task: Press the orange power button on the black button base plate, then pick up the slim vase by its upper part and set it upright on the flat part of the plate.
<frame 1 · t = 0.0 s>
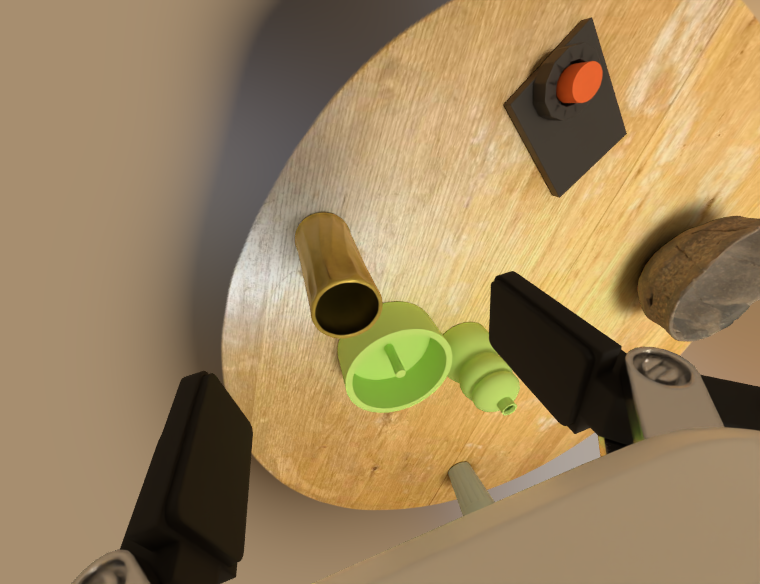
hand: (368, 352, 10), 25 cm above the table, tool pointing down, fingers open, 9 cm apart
cup: (458, 467, 71), on the table
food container: (418, 343, 46), on the table
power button: (578, 83, 29), point 4 cm above the table, slide at 0.1 cm
vase: (323, 238, 33), on the table
bowl: (663, 259, 53), on the table
button base plate: (565, 120, 34), on the table
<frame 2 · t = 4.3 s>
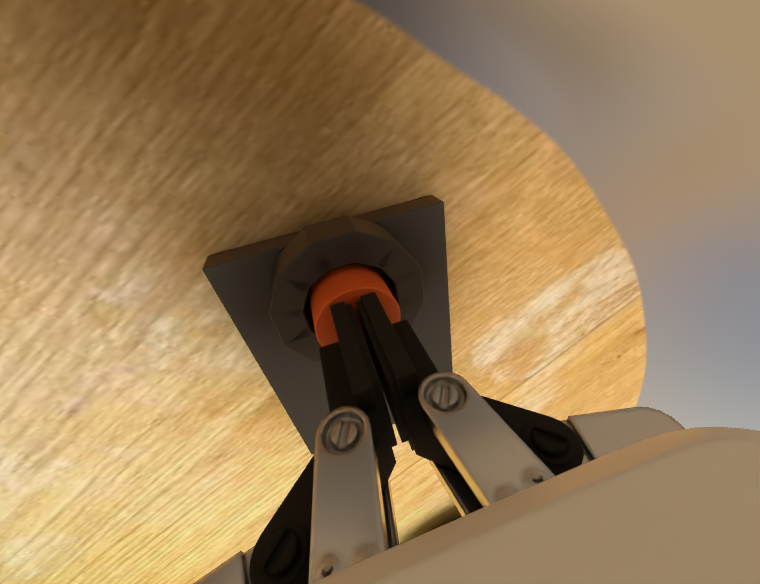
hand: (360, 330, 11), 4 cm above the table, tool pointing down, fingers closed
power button: (353, 309, 12), point 3 cm above the table, slide at -0.3 cm, touching gripper
button base plate: (359, 339, 17), on the table
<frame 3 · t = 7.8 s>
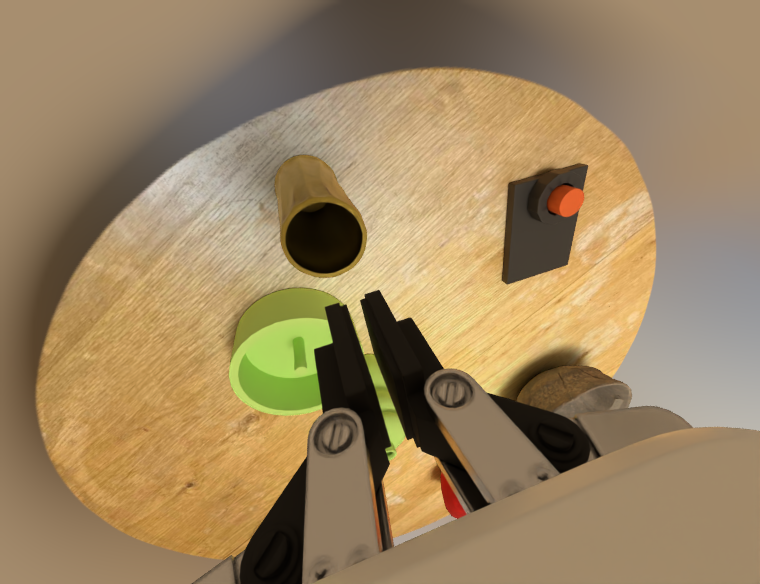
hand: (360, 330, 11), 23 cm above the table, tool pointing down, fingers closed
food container: (326, 354, 42), on the table
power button: (564, 200, 35), point 4 cm above the table, slide at 0.1 cm
vase: (306, 187, 30), on the table
bowl: (541, 382, 62), on the table
apple: (450, 464, 69), on the table
button base plate: (538, 226, 41), on the table
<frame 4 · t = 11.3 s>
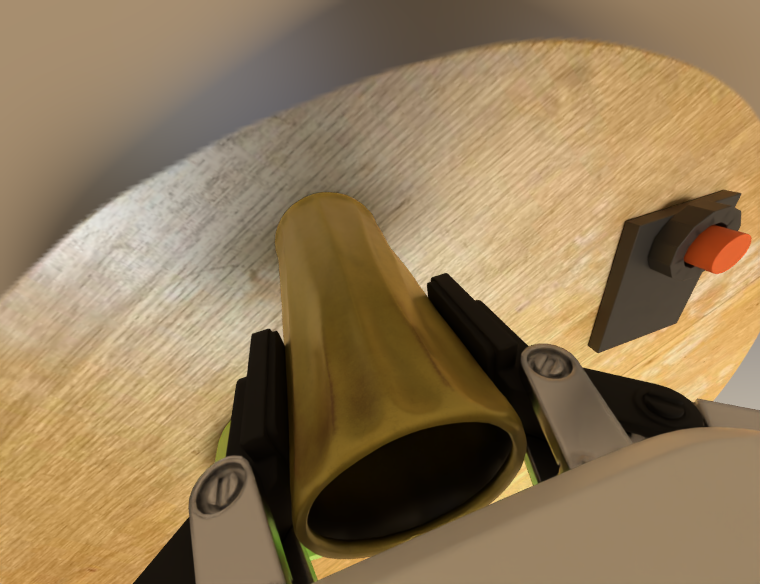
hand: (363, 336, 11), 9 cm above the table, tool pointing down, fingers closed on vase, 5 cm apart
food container: (348, 453, 30), on the table
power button: (715, 249, 23), point 4 cm above the table, slide at 0.1 cm
vase: (328, 242, 18), on the table, touching gripper
button base plate: (648, 276, 29), on the table
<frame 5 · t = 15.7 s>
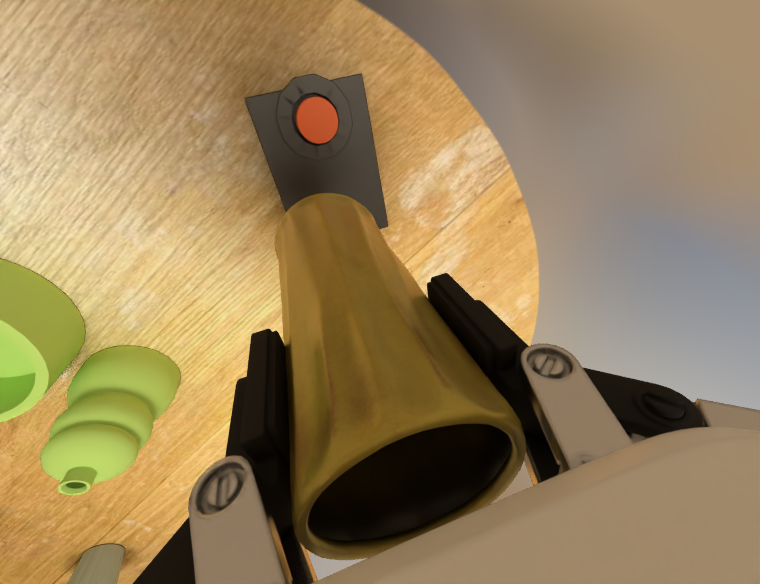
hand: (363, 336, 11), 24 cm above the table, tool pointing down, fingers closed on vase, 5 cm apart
cup: (105, 551, 50), on the table
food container: (53, 345, 31), on the table
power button: (316, 120, 24), point 4 cm above the table, slide at 0.1 cm
vase: (328, 243, 18), point 15 cm above the table, touching gripper
button base plate: (326, 170, 30), on the table
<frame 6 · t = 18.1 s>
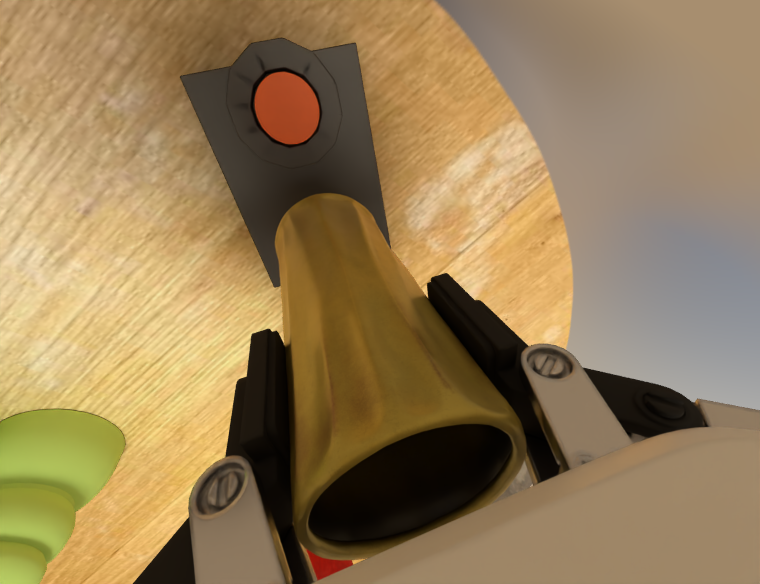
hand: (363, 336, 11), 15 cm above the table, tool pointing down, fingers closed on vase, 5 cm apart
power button: (287, 109, 16), point 4 cm above the table, slide at 0.1 cm
vase: (328, 243, 18), point 6 cm above the table, touching gripper
bowl: (426, 427, 43), on the table
apple: (318, 533, 50), on the table
button base plate: (307, 180, 22), on the table
when the fingers open (10 cm above the table, at t = 20.2 s): vase stays where it is, resting on button base plate.
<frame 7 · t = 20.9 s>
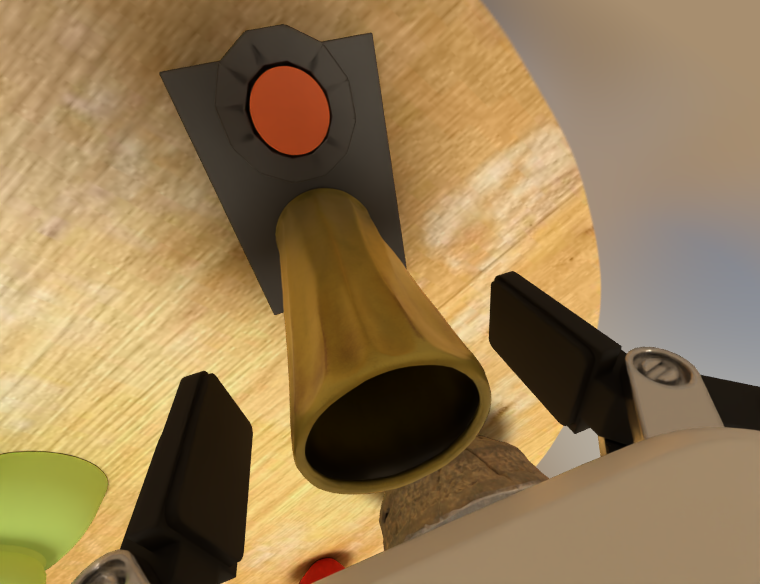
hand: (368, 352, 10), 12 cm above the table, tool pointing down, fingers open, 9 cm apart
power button: (290, 113, 13), point 4 cm above the table, slide at 0.1 cm
vase: (325, 235, 19), point 1 cm above the table, touching button base plate
bowl: (437, 453, 40), on the table
apple: (321, 562, 47), on the table
button base plate: (312, 194, 19), on the table
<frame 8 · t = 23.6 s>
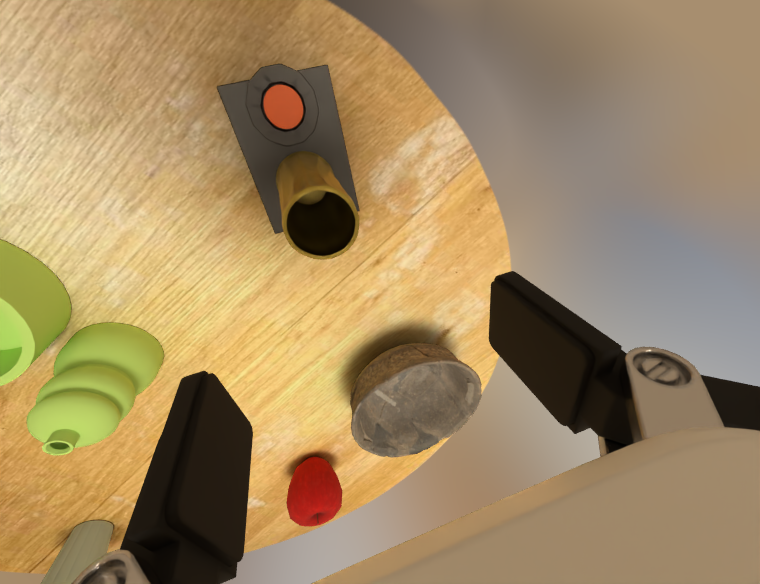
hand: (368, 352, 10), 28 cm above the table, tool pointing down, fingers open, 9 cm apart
cup: (94, 527, 52), on the table
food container: (41, 321, 33), on the table
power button: (283, 107, 26), point 4 cm above the table, slide at 0.1 cm
vase: (305, 181, 32), point 1 cm above the table, touching button base plate
bowl: (398, 366, 53), on the table
apple: (311, 461, 60), on the table
button base plate: (298, 156, 32), on the table
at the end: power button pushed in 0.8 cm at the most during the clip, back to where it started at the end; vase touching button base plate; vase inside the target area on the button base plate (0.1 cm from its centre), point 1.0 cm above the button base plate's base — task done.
